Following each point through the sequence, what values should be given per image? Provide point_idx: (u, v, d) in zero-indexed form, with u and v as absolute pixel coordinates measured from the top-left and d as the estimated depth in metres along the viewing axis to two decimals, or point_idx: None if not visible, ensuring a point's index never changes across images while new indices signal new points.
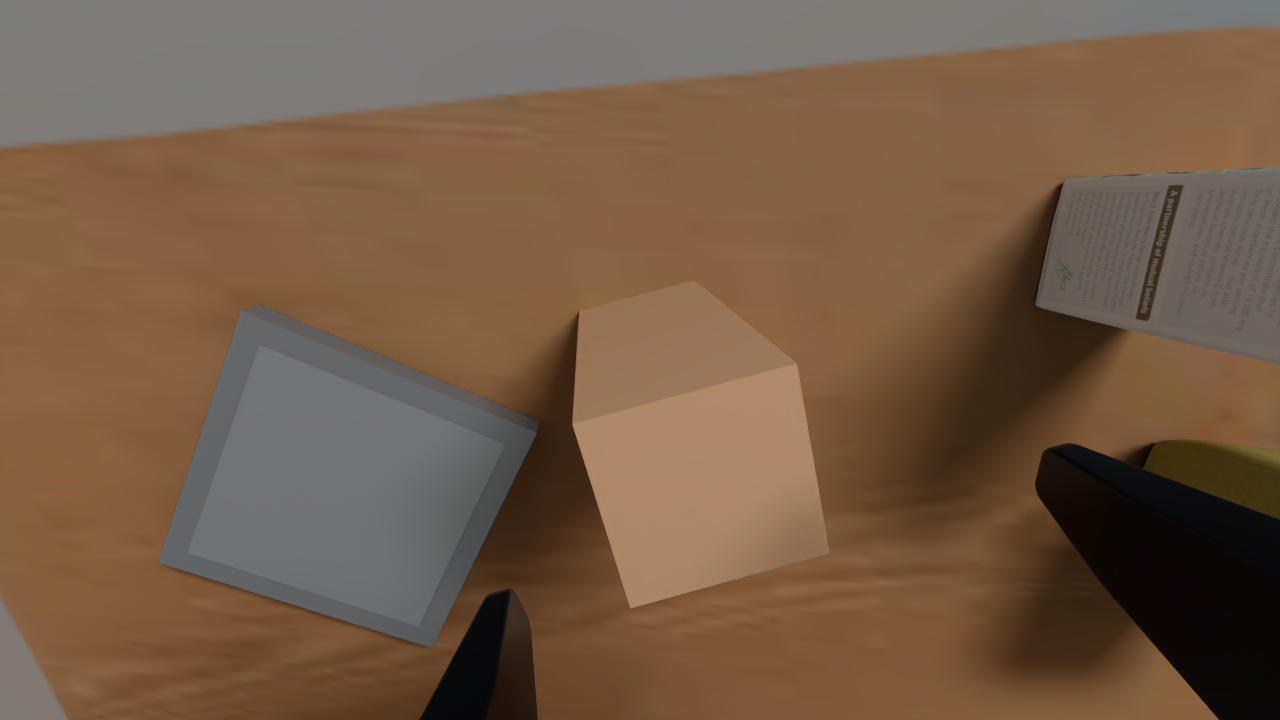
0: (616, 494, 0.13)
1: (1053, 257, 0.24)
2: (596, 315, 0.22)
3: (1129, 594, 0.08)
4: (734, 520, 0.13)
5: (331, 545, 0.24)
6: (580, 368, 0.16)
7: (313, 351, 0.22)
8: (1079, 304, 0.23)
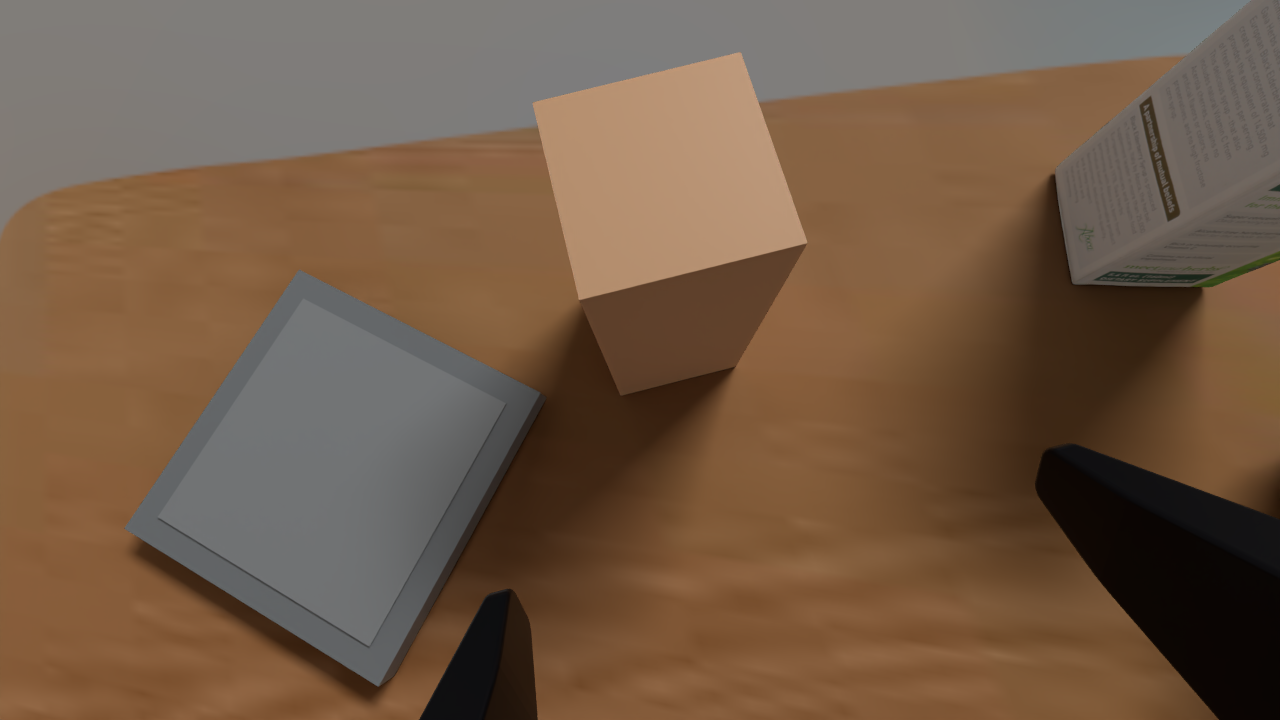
0: (569, 169, 0.13)
1: (1070, 230, 0.24)
2: None
3: (1129, 594, 0.08)
4: (692, 199, 0.12)
5: (303, 518, 0.22)
6: None
7: (347, 305, 0.24)
8: (1111, 249, 0.22)
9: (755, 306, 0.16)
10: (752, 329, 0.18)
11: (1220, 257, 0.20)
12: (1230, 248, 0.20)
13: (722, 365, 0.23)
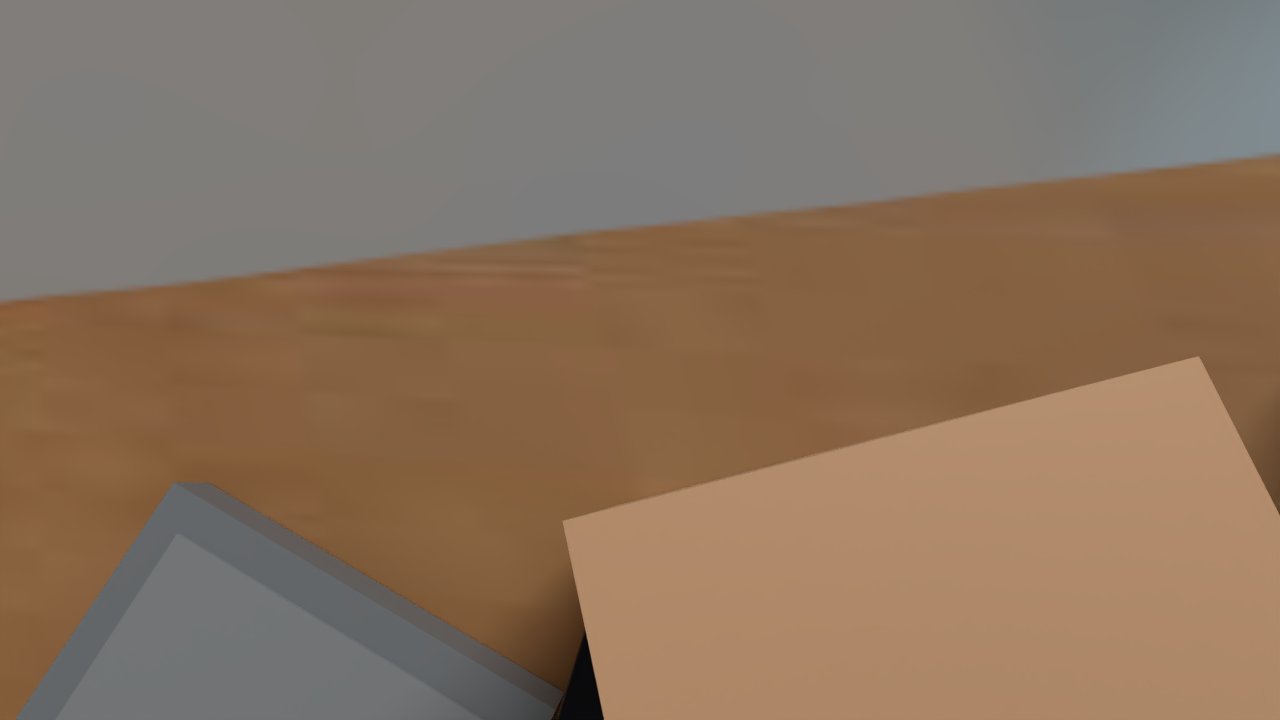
0: None
1: None
2: None
3: None
4: None
5: None
6: (619, 505, 0.08)
7: (246, 545, 0.15)
8: None
9: None
10: None
11: None
12: None
13: None
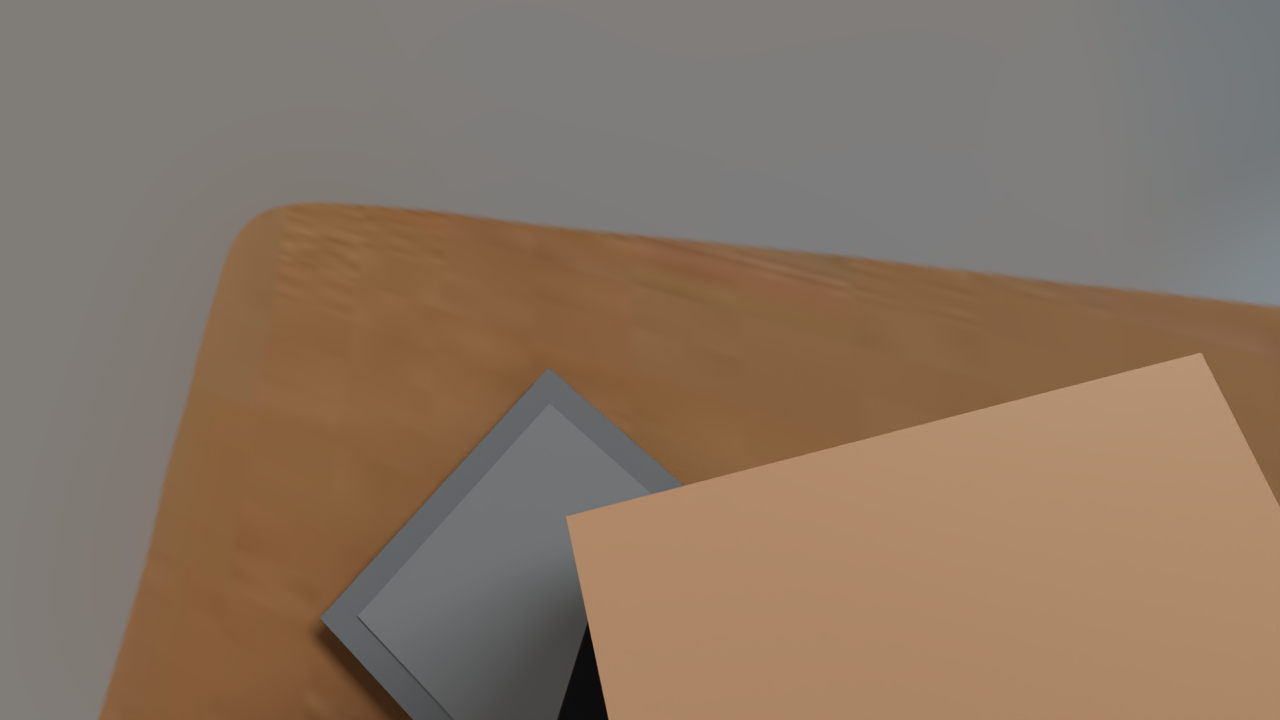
0: None
1: None
2: None
3: None
4: None
5: (512, 661, 0.19)
6: None
7: (595, 423, 0.21)
8: None
9: None
10: None
11: None
12: None
13: None
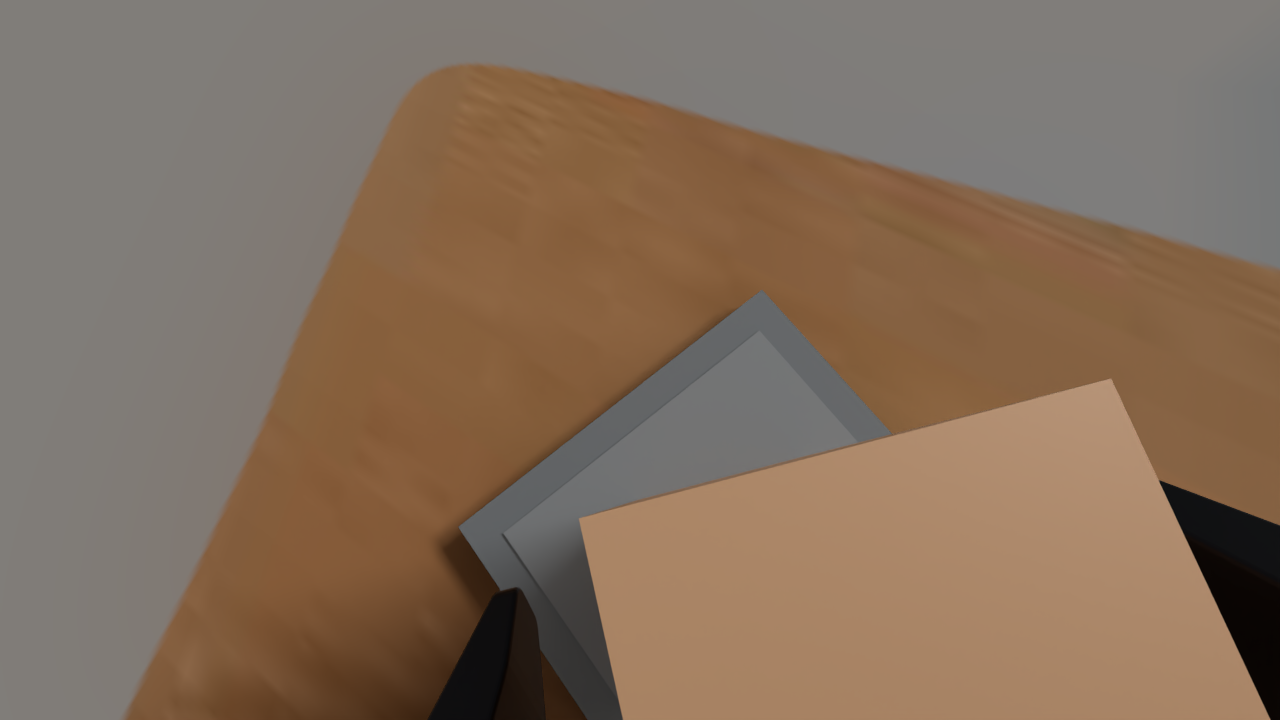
0: None
1: None
2: None
3: None
4: None
5: None
6: None
7: (811, 363, 0.17)
8: None
9: None
10: None
11: None
12: None
13: None
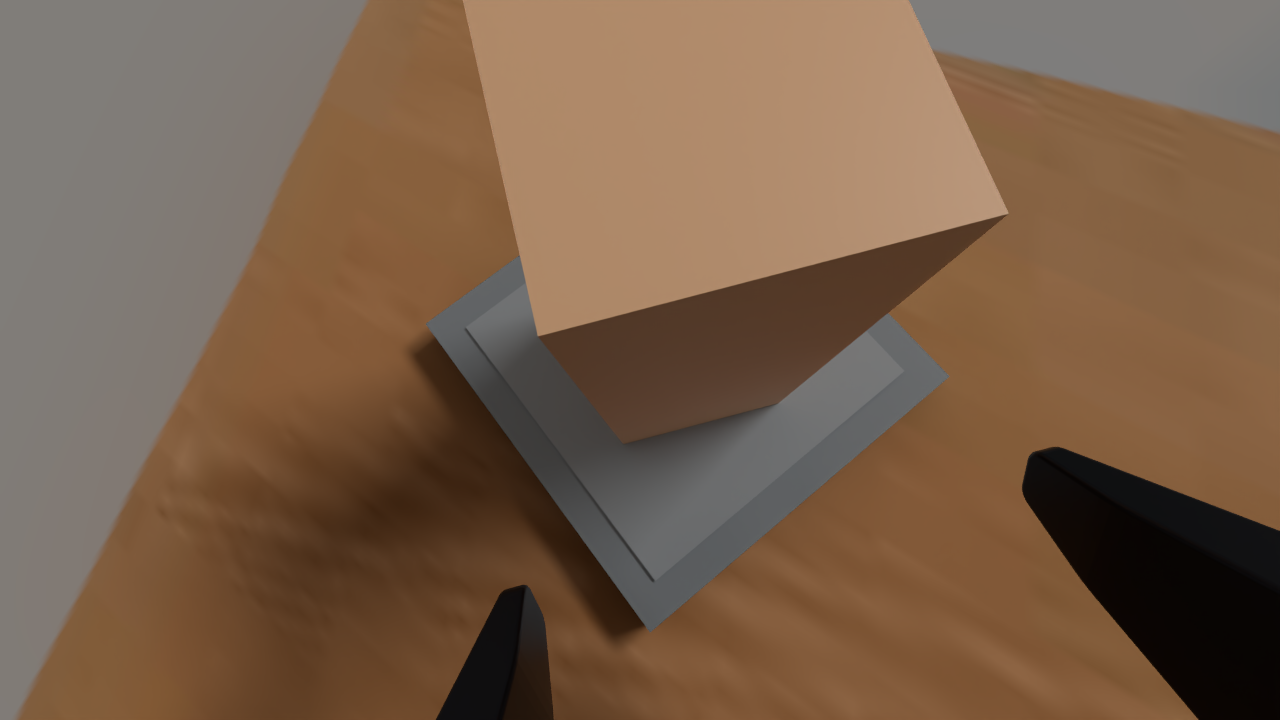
0: (522, 77, 0.06)
1: None
2: None
3: (1114, 598, 0.08)
4: (766, 130, 0.06)
5: None
6: None
7: None
8: None
9: (845, 331, 0.09)
10: (822, 361, 0.12)
11: None
12: None
13: (762, 403, 0.16)
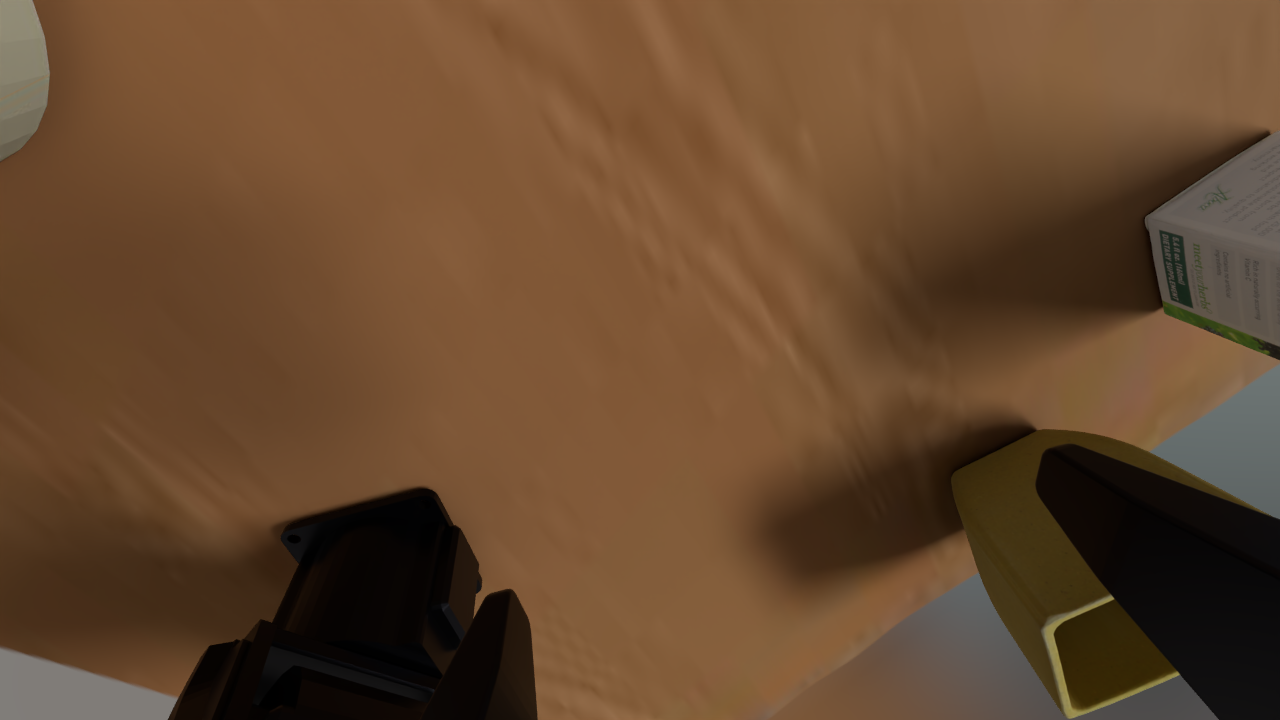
0: None
1: (1210, 183, 0.22)
2: None
3: (1129, 594, 0.08)
4: None
5: None
6: None
7: None
8: (1216, 223, 0.21)
9: None
10: None
11: (1231, 302, 0.21)
12: (1252, 303, 0.21)
13: None
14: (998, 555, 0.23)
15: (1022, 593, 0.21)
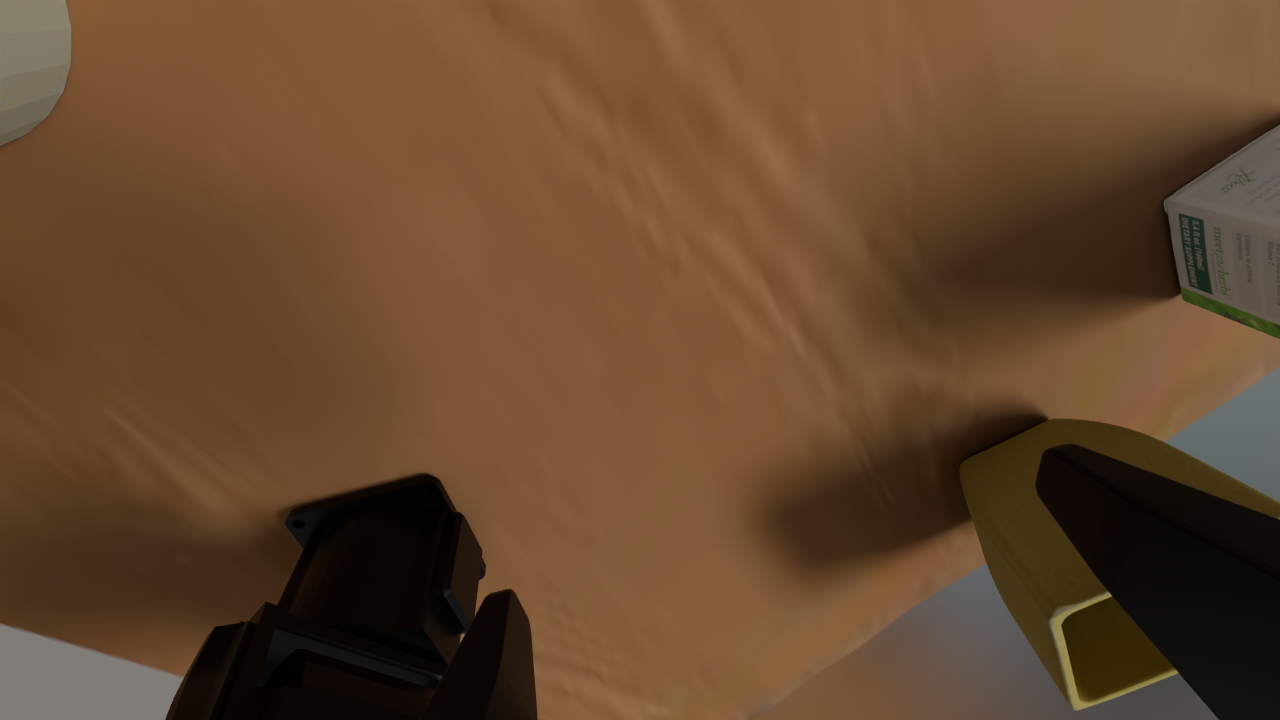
0: None
1: (1233, 164, 0.21)
2: None
3: (1129, 594, 0.08)
4: None
5: None
6: None
7: None
8: (1238, 206, 0.20)
9: None
10: None
11: (1252, 288, 0.21)
12: (1274, 289, 0.20)
13: None
14: (1006, 545, 0.23)
15: (1029, 583, 0.21)
